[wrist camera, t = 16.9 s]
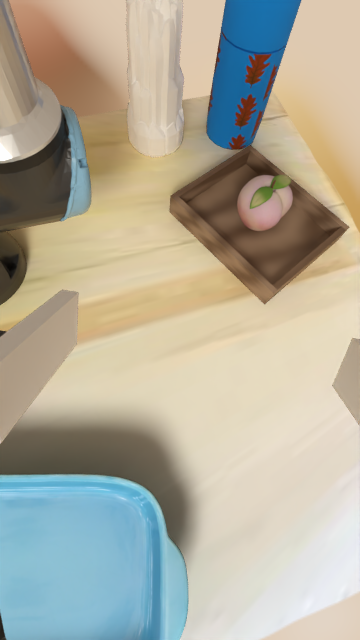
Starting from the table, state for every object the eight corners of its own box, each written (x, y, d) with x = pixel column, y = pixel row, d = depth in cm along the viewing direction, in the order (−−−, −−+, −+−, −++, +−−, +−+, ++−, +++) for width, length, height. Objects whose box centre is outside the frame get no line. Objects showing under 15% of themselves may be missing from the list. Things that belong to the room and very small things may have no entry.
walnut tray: (169, 211, 57) (170, 195, 53) (244, 162, 63) (250, 145, 59) (264, 304, 51) (273, 293, 48) (336, 241, 57) (349, 227, 54)
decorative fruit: (249, 195, 58) (267, 149, 49) (285, 219, 57) (311, 176, 48) (220, 226, 55) (233, 182, 46) (258, 252, 54) (279, 212, 45)
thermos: (205, 111, 67) (232, -62, 44) (253, 115, 68) (305, -53, 45) (205, 148, 63) (235, -22, 40) (257, 152, 64) (315, -12, 41)
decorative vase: (192, 140, 64) (214, -32, 41) (154, 165, 61) (154, -6, 37) (155, 111, 66) (156, -67, 43) (117, 134, 63) (95, -45, 40)
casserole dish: (-184, 720, 31) (-276, 796, 24) (-111, 471, 39) (-165, 478, 33) (184, 692, 34) (191, 753, 27) (181, 466, 42) (186, 470, 35)
